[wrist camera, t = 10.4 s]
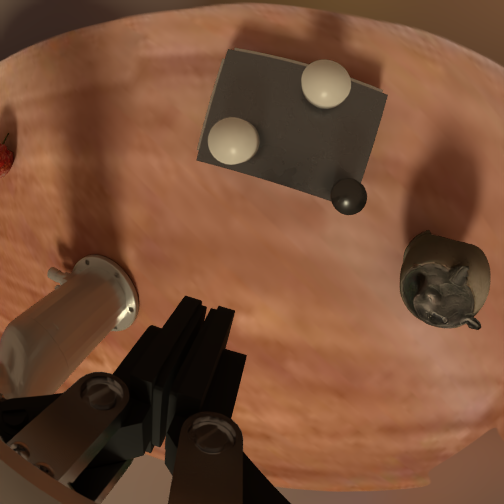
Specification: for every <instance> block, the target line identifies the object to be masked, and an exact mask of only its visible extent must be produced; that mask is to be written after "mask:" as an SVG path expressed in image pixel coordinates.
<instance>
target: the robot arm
mask: <svg viewBox="0 0 504 504" xmlns="http://www.w3.org/2000/svg"><path fill="white" fill-rule="evenodd" d="M48 278H50V279H52V280H54V281H56V282H59V283H60V285H61V286H60V285H57V286H56V287H55V290H54V291H52V292H51V293H49V294H48V295H47V296H45V297H44V298H42V299H41V300H40V301H38V302H37V303H35V304H34V305H33V306H31V307H30V308H29V309H27V310H26V311H25V312H23V313H22V314H21V315H19V316H18V317H16V318H15V319H14V320H13V321H11V322H10V323H9V324H8V326H7V327H6V329H5V331H4V332H3V335H2V338H1V342H0V504H101V503H102V501H103V500H104V499H105V498H106V496H107V495H108V494H109V492H110V491H111V490H112V489H113V487H114V486H115V484H116V483H117V482H118V481H119V479H120V478H121V477H122V475H123V474H124V473H125V471H126V470H127V469H128V467H129V466H130V465H131V463H132V461H133V459H134V458H135V457H139V456H143V455H144V453H145V451H146V452H149V453H151V452H152V450H153V448H154V446H158V447H161V445H162V443H163V441H164V439H165V436H166V441H165V449H166V452H165V465H166V466H167V468H168V469H169V471H170V472H171V474H172V482H171V488H170V494H169V501H168V504H291V503H290V502H289V501H288V500H287V499H286V498H285V497H284V496H283V495H282V494H281V493H280V492H279V491H278V490H277V489H276V488H275V487H274V486H273V485H272V484H271V483H270V481H269V480H268V479H267V478H266V477H265V476H264V475H263V474H262V473H261V472H260V470H259V469H258V468H257V467H256V466H255V465H254V464H253V463H252V461H251V460H250V459H249V458H248V457H247V456H246V454H245V453H244V452H243V436H242V432H241V430H240V428H239V427H238V425H237V424H236V423H235V422H234V421H233V420H232V419H231V417H232V413H233V409H234V405H235V401H236V397H237V393H238V389H239V385H240V381H241V377H242V373H243V369H244V365H245V361H246V356H247V355H244V354H241V353H237V352H234V351H230V350H227V349H225V348H226V344H227V340H228V337H229V333H230V329H231V325H232V321H233V317H234V313H235V310H231V309H228V308H225V307H221V306H218V308H217V310H216V309H212V308H211V309H210V311H209V313H208V315H207V317H206V319H205V314H206V309H207V307H206V306H203V305H202V301H201V300H198V299H195V298H192V297H188V296H185V297H184V298H183V299H182V301H181V302H180V303H179V305H178V306H177V308H176V309H175V311H174V312H173V313H172V315H171V316H170V318H169V319H168V320H167V322H166V323H165V325H164V326H163V327H162V328H159V327H156V326H153V325H151V326H149V327H148V328H147V330H146V331H145V332H144V334H143V335H142V336H141V337H140V339H139V340H138V341H137V343H136V344H135V345H134V347H133V348H132V349H131V351H130V352H129V353H128V355H127V356H126V357H125V359H124V360H123V361H122V363H121V364H120V365H119V367H118V368H117V369H116V371H115V372H114V373H113V375H112V374H110V373H105V372H93V373H90V374H86V375H85V376H83V377H81V378H80V379H79V380H78V381H77V382H75V383H74V384H73V385H72V386H71V387H70V388H68V389H67V390H66V391H65V392H64V393H59V394H54V393H55V392H56V391H57V390H58V389H59V387H60V386H61V385H62V384H63V383H64V382H65V381H66V379H67V378H68V377H69V376H70V375H71V374H72V373H73V372H74V370H75V369H76V368H77V367H78V366H79V365H80V364H81V363H82V362H83V360H84V359H85V358H86V357H87V356H88V355H89V354H90V353H91V352H92V351H93V350H94V349H95V347H96V346H97V345H98V344H99V343H100V342H101V341H102V340H103V339H104V338H105V337H106V336H107V335H108V334H109V332H110V331H121V330H125V329H126V328H128V327H129V326H130V325H131V324H132V323H133V322H134V321H135V319H136V317H137V315H138V309H139V303H138V297H137V292H136V290H135V287H134V285H133V283H132V281H131V280H130V278H129V277H128V275H127V274H126V273H125V271H124V270H123V269H122V268H121V267H120V266H119V265H118V264H116V263H115V262H114V261H112V260H110V259H108V258H107V257H104V256H101V255H88V256H86V257H84V258H82V259H81V260H79V261H78V262H77V263H76V265H75V266H74V268H73V271H72V273H68V272H65V273H63V272H61V271H60V270H58V269H56V268H54V267H51V268H50V269H49V271H48ZM204 319H205V321H204Z"/></svg>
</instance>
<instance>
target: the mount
mask: <svg viewBox="0 0 504 504" xmlns="http://www.w3.org/2000/svg"><path fill="white" fill-rule="evenodd" d="M308 65H309V64H306V63H302V62H298V61H295V60H291V59H287V58H283V57H278V56H274V55H270V54H265V53H260V52H255V51H250V50H245V49H239V48H235V49H234V50H230V49H228V51H227V54H226V57H225V59H222V62H221V66H220V69H219V72H218V75H217V79H216V82H215V85H214V89H213V92H212V95H211V99H210V102H209V106H208V110H207V113H206V117H205V121H204V124H203V128H202V132H201V136H200V140H199V143H198V147H197V150H199V152H198V156H197V161H201V162H205V163H208V164H212V165H216V166H220V167H223V168H227V169H230V170H234V171H237V172H241V173H244V174H248V175H251V176H255V177H258V178H261V179H264V180H268V181H271V182H274V183H277V184H281V185H284V186H287V187H290V188H293V189H296V190H299V191H302V192H305V193H308V194H311V195H314V196H317V197H320V198H323V199H326V200H329V201H331V198H330V192H331V188H332V186H333V184H334V182H335V181H337V180H339V179H342V178H353V179H355V180H357V181H358V182H360V183H361V181H362V178H363V175H364V172H365V169H366V166H367V163H368V159H369V156H370V153H371V150H372V147H373V144H374V141H375V137H376V134H377V131H378V127H379V124H380V121H381V117H382V114H383V110H384V107H385V103H386V99H387V96H388V95H386V94H384V93H382V92H383V90H381V89H379V88H376V87H374V86H371V85H369V84H366V83H363V82H361V81H358V80H355V79H353V78H350V79H351V89H350V92H349V94H348V96H347V97H346V98H345V100H344V101H343V102H342V103H341V104H339V105H338V106H336V107H334V108H329V109H323V108H319V107H316V106H314V105H312V104H311V103H310V102H309V101H308V100H307V99H306V98H305V96H304V94H303V92H302V83H301V78H302V74H303V71H304V70H305V68H306V67H307V66H308ZM228 117H236V118H240V119H242V120H245V121H247V122H249V123H251V124H252V125H253V126H254V127H255V128H256V130H257V131H258V134H259V138H260V144H259V148H258V150H257V152H256V154H255V155H254V156H253V157H252V158H251V159H249V160H247V161H245V162H242V163H238V164H232V165H230V164H224V163H222V162H220V161H218V160H217V159H216V158H214V156H213V155H212V154H211V152H210V150H209V147H208V136H209V132H210V130H211V129H212V127H213V126H214V125H215V124H216V123H217V122H218V121H220V120H222V119H224V118H228Z"/></svg>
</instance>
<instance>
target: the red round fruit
mask: <svg viewBox="0 0 504 504" xmlns="http://www.w3.org/2000/svg"><path fill="white" fill-rule="evenodd" d="M8 134H9V133H8ZM8 134H7V136H8ZM7 136H6V138H7ZM6 138H5V139H4V141H3V143H2V144H0V178H2V177H3V176H5V175H6V174H7V173H8V171H9V170H10V168H11V167H12V164H13V152H11V151H10V150H7V146H5V145H4V143H5V140H6Z"/></svg>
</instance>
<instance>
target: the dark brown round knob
mask: <svg viewBox="0 0 504 504" xmlns="http://www.w3.org/2000/svg"><path fill="white" fill-rule="evenodd" d="M330 198H331V201H332V204H333V206H334V207H335V209H336V210H337V211H339V212H340V213H342V214H345V215H353V214H356V213H358V212H360V211H361V210H362V209H363V208H364V206H365V204H366V201H367V193H366V190H365V188H364V186H363V185H362V184H361V183H360V182H358V181H357V180H355V179H353V178H342V179H339V180H337V181H335V182H334V184H333V186H332V188H331V192H330Z"/></svg>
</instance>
